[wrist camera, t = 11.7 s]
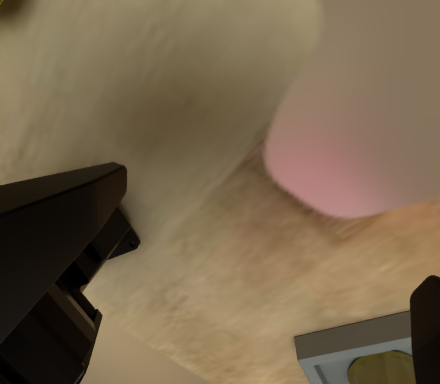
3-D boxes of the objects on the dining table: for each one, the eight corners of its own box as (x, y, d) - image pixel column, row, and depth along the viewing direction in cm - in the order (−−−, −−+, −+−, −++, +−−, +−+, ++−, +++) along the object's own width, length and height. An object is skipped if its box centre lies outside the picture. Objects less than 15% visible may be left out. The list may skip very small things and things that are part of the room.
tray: (335, 416, 29) (341, 441, 27) (294, 337, 26) (297, 360, 24) (467, 397, 26) (484, 425, 24) (442, 303, 22) (460, 326, 20)
